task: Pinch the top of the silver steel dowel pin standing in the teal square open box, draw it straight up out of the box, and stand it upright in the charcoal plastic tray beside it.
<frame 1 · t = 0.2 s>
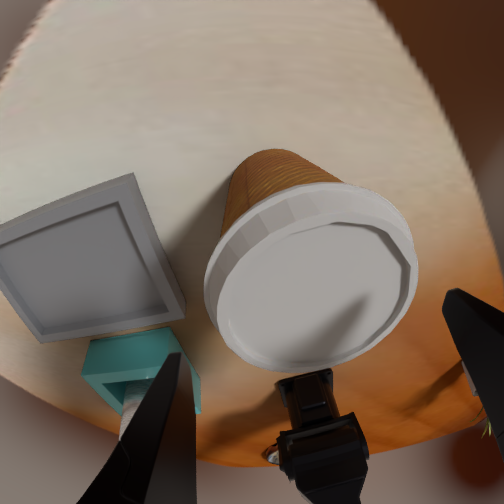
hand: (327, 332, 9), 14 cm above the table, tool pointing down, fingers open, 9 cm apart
disposable coffee cup: (273, 190, 22), on the table
burger: (297, 445, 50), on the table
teal square open box: (146, 362, 31), on the table
charcoal tray: (76, 267, 24), on the table
steel pin: (146, 365, 31), resting on teal square open box
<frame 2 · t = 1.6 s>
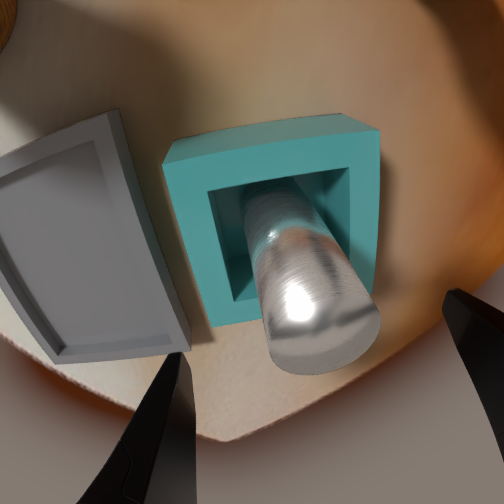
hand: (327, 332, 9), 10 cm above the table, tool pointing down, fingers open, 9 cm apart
teal square open box: (270, 200, 18), on the table
charcoal tray: (73, 257, 18), on the table
steel pin: (272, 203, 18), resting on teal square open box
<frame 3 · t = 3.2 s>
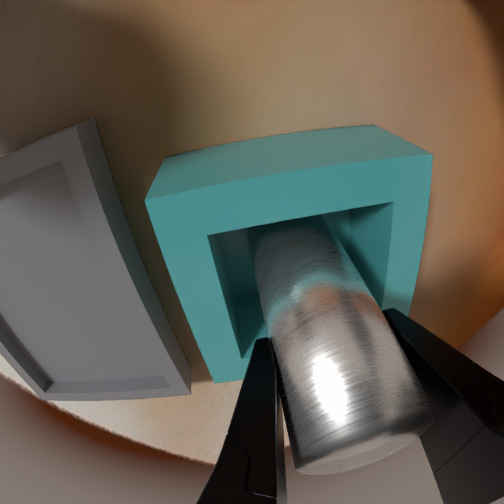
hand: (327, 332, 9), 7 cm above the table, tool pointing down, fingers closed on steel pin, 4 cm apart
teal square open box: (285, 229, 15), on the table
charcoal tray: (54, 292, 15), on the table
steel pin: (287, 235, 14), point 1 cm above the table, touching gripper, teal square open box
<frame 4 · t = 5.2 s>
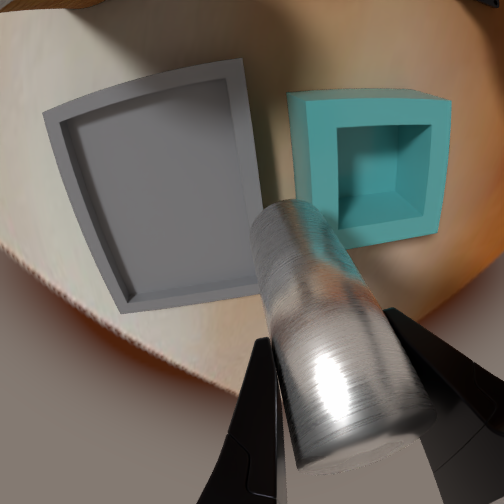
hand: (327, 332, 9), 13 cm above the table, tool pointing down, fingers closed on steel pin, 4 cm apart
teal square open box: (356, 152, 20), on the table
charcoal tray: (167, 195, 21), on the table
steel pin: (288, 235, 14), point 7 cm above the table, touching gripper
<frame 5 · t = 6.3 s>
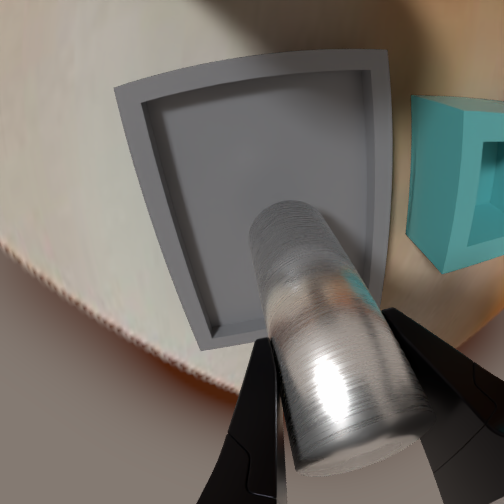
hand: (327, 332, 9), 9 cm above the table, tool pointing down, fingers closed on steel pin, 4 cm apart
teal square open box: (463, 164, 17), on the table
charcoal tray: (273, 206, 17), on the table
steel pin: (288, 236, 14), point 3 cm above the table, touching gripper
when the fingers open (8 cm above the table, at t = 7.2 s): steel pin stays where it is, resting on charcoal tray.
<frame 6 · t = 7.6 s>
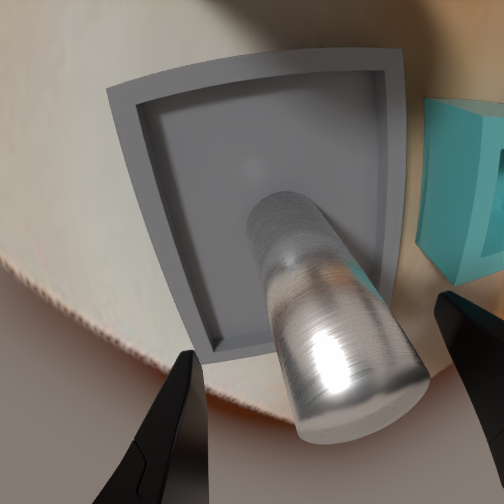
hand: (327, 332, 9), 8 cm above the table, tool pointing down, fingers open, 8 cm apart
teal square open box: (475, 170, 16), on the table
charcoal tray: (278, 215, 16), on the table
steel pin: (283, 226, 15), point 1 cm above the table, touching charcoal tray
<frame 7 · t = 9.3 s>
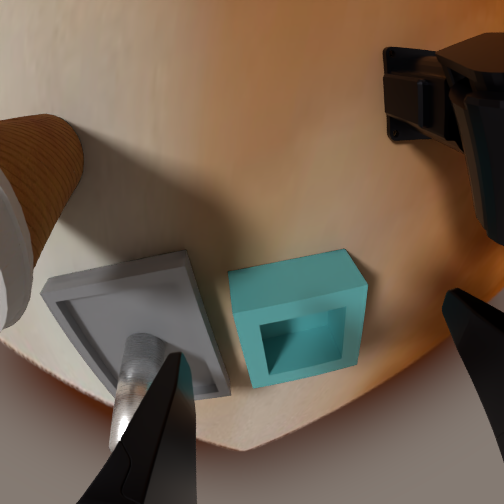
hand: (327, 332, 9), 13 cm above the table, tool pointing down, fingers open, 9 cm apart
disposable coffee cup: (44, 158, 17), on the table
teal square open box: (291, 304, 26), on the table
charcoal tray: (145, 338, 26), on the table
steel pin: (145, 346, 26), point 1 cm above the table, touching charcoal tray
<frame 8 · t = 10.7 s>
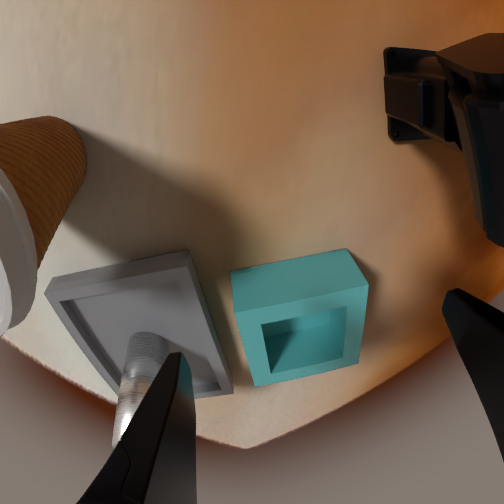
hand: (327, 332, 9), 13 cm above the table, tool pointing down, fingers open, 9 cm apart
disposable coffee cup: (47, 160, 18), on the table
teal square open box: (293, 303, 26), on the table
charcoal tray: (149, 336, 27), on the table
steel pin: (148, 345, 26), point 1 cm above the table, touching charcoal tray
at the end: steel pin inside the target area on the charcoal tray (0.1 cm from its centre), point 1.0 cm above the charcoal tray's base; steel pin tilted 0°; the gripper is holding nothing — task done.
